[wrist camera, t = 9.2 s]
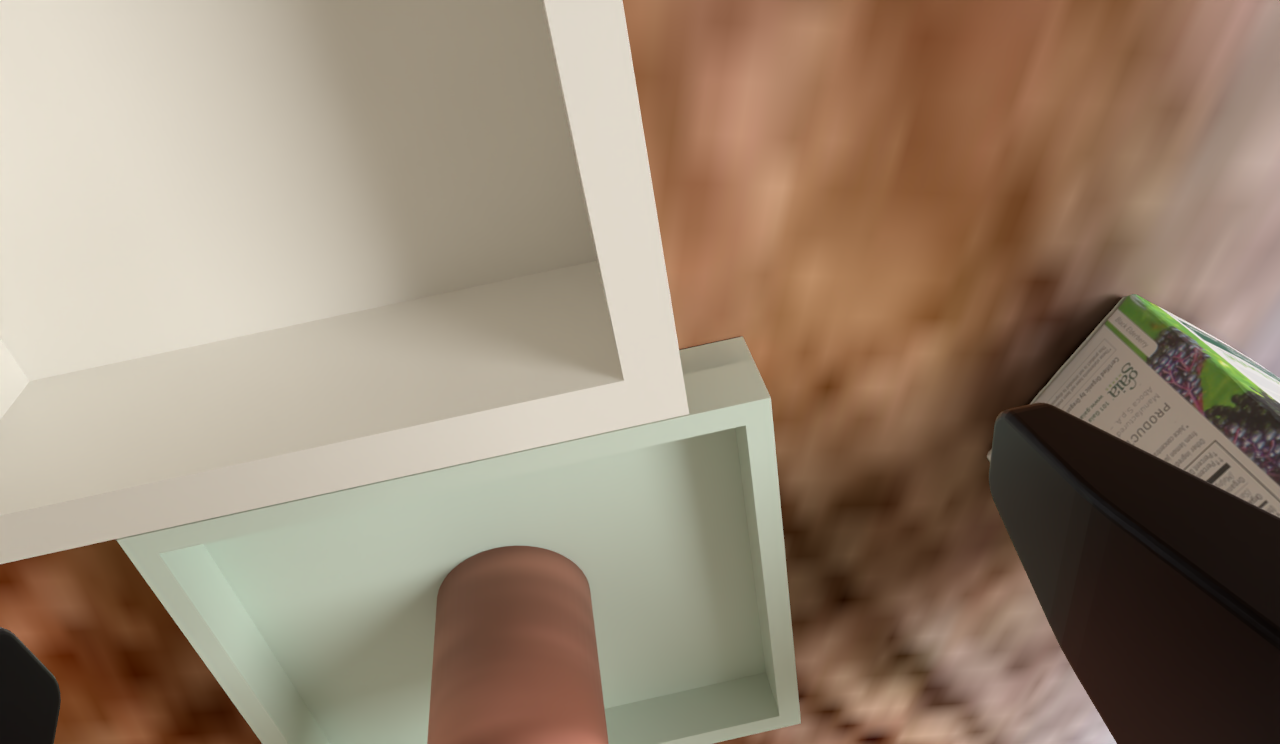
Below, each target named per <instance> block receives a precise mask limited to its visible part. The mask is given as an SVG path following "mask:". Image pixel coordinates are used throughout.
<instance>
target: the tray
mask: <svg viewBox="0 0 1280 744" xmlns="http://www.w3.org/2000/svg"><path fill="white" fill-rule="evenodd" d="M679 353H680V359H681V366H682V372H683V378H684V384H685V390H686V396H687V403H688V409H689V414H687V415H683V416H678V417H673V418H669V419H664V420H660V421H655V422H651V423H646V424H641V425H637V426H632V427H628V428H623V429H618V430H614V431H609V432H605V433H600V434H596V435H591V436H586V437H582V438H577V439H573V440H568V441H563V442H559V443H554V444H550V445H545V446H540V447H536V448H531V449H527V450H522V451H518V452H513V453H508V454H504V455H499V456H495V457H490V458H485V459H481V460H476V461H472V462H467V463H462V464H458V465H453V466H449V467H444V468H440V469H435V470H430V471H426V472H421V473H417V474H412V475H407V476H403V477H398V478H394V479H389V480H385V481H380V482H375V483H371V484H366V485H362V486H357V487H352V488H348V489H343V490H339V491H334V492H329V493H325V494H320V495H316V496H311V497H307V498H302V499H297V500H293V501H288V502H284V503H279V504H274V505H270V506H265V507H261V508H256V509H251V510H247V511H242V512H238V513H233V514H229V515H224V516H219V517H215V518H210V519H206V520H201V521H196V522H192V523H187V524H183V525H178V526H174V527H169V528H164V529H160V530H155V531H151V532H146V533H141V534H137V535H132V536H128V537H123V538H118V539H117V542H118V543H119V544H120V546H121V547H122V549H123V550H124V551H125V553H126V554H127V556H128V557H129V558H130V560H131V561H132V563H133V564H134V565H135V567H136V568H137V570H138V571H139V572H140V574H141V575H142V577H143V578H144V579H145V581H146V582H147V584H148V585H149V586H150V588H151V589H152V591H153V592H154V593H155V595H156V596H157V597H158V599H159V600H160V602H161V603H162V604H163V606H164V607H165V609H166V610H167V611H168V613H169V614H170V616H171V617H172V618H173V620H174V621H175V623H176V624H177V625H178V627H179V628H180V630H181V631H182V632H183V634H184V635H185V637H186V638H187V639H188V641H189V642H190V644H191V645H192V646H193V648H194V649H195V651H196V652H197V653H198V655H199V656H200V657H201V659H202V660H203V662H204V663H205V664H206V666H207V667H208V669H209V670H210V671H211V673H212V674H213V676H214V677H215V678H216V680H217V681H218V683H219V684H220V685H221V687H222V688H223V690H224V691H225V692H226V694H227V695H228V697H229V698H230V699H231V701H232V702H233V704H234V705H235V706H236V708H237V709H238V711H239V712H240V713H241V715H242V716H243V718H244V719H245V720H246V722H247V723H248V724H249V726H250V727H251V729H252V730H253V731H254V733H255V734H256V736H257V737H258V738H259V740H260V741H261V743H262V744H427V740H428V725H429V710H430V695H431V680H432V666H433V651H434V636H435V621H436V606H437V595H438V591H439V588H440V586H441V584H442V582H443V581H444V579H445V578H446V576H447V575H448V574H449V573H450V572H451V571H452V570H453V569H454V568H455V567H456V566H457V565H458V564H460V563H461V562H463V561H464V560H466V559H468V558H470V557H472V556H474V555H476V554H478V553H481V552H484V551H487V550H491V549H494V548H500V547H505V546H532V547H539V548H544V549H548V550H551V551H554V552H556V553H559V554H561V555H563V556H565V557H566V558H568V559H570V560H571V561H572V562H574V563H575V564H576V565H577V566H578V567H579V568H580V569H581V570H582V571H583V573H584V575H585V576H586V578H587V580H588V583H589V587H590V593H591V601H592V610H593V618H594V626H595V635H596V643H597V651H598V660H599V668H600V676H601V685H602V693H603V701H604V709H605V718H606V726H607V734H608V743H609V744H713V743H717V742H722V741H726V740H731V739H735V738H739V737H744V736H748V735H752V734H757V733H761V732H766V731H770V730H774V729H779V728H783V727H787V726H792V725H796V724H800V723H801V718H800V708H799V697H798V686H797V675H796V664H795V654H794V643H793V632H792V621H791V610H790V600H789V589H788V578H787V567H786V556H785V546H784V535H783V524H782V513H781V503H780V492H779V481H778V470H777V459H776V449H775V438H774V427H773V416H772V405H771V397H770V395H769V393H768V390H767V388H766V386H765V384H764V382H763V380H762V377H761V375H760V373H759V371H758V369H757V367H756V364H755V362H754V360H753V358H752V356H751V353H750V351H749V349H748V347H747V345H746V343H745V340H744V338H743V336H742V337H738V338H733V339H729V340H724V341H719V342H715V343H710V344H705V345H701V346H696V347H691V348H687V349H682V350H679Z"/></svg>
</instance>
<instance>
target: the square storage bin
mask: <svg viewBox="0 0 1280 744" xmlns="http://www.w3.org/2000/svg"><path fill="white" fill-rule="evenodd" d="M687 414H689V409H688V403H687V396H686V390H685V384H684V378H683V372H682V366H681V359H680V353H679V347H678V341H677V335H676V329H675V322H674V316H673V310H672V304H671V298H670V291H669V285H668V279H667V273H666V267H665V261H664V254H663V248H662V242H661V236H660V230H659V224H658V217H657V211H656V205H655V199H654V193H653V187H652V180H651V174H650V168H649V162H648V156H647V150H646V143H645V137H644V131H643V125H642V119H641V112H640V106H639V100H638V94H637V88H636V82H635V75H634V69H633V63H632V57H631V51H630V45H629V38H628V32H627V26H626V20H625V14H624V8H623V1H622V0H0V564H4V563H8V562H13V561H18V560H22V559H27V558H31V557H36V556H40V555H45V554H50V553H54V552H59V551H63V550H68V549H73V548H77V547H82V546H86V545H91V544H96V543H100V542H105V541H109V540H114V539H118V538H123V537H128V536H132V535H137V534H141V533H146V532H151V531H155V530H160V529H164V528H169V527H174V526H178V525H183V524H187V523H192V522H196V521H201V520H206V519H210V518H215V517H219V516H224V515H229V514H233V513H238V512H242V511H247V510H251V509H256V508H261V507H265V506H270V505H274V504H279V503H284V502H288V501H293V500H297V499H302V498H307V497H311V496H316V495H320V494H325V493H329V492H334V491H339V490H343V489H348V488H352V487H357V486H362V485H366V484H371V483H375V482H380V481H385V480H389V479H394V478H398V477H403V476H407V475H412V474H417V473H421V472H426V471H430V470H435V469H440V468H444V467H449V466H453V465H458V464H462V463H467V462H472V461H476V460H481V459H485V458H490V457H495V456H499V455H504V454H508V453H513V452H518V451H522V450H527V449H531V448H536V447H540V446H545V445H550V444H554V443H559V442H563V441H568V440H573V439H577V438H582V437H586V436H591V435H596V434H600V433H605V432H609V431H614V430H618V429H623V428H628V427H632V426H637V425H641V424H646V423H651V422H655V421H660V420H664V419H669V418H673V417H678V416H683V415H687Z"/></svg>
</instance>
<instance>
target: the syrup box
mask: <svg viewBox="0 0 1280 744" xmlns="http://www.w3.org/2000/svg"><path fill="white" fill-rule="evenodd" d="M1034 403H1048V404H1051V405H1053V406H1055V407H1058V408H1060V409H1062V410H1064V411H1066V412H1068V413H1070V414H1072V415H1074V416H1076V417H1078V418H1080V419H1082V420H1084V421H1086V422H1088V423H1090V424H1092V425H1094V426H1096V427H1098V428H1100V429H1102V430H1104V431H1106V432H1108V433H1110V434H1112V435H1114V436H1116V437H1118V438H1120V439H1122V440H1124V441H1126V442H1128V443H1130V444H1132V445H1134V446H1136V447H1138V448H1140V449H1142V450H1144V451H1146V452H1148V453H1150V454H1152V455H1154V456H1156V457H1158V458H1160V459H1162V460H1165V461H1167V462H1169V463H1171V464H1173V465H1175V466H1177V467H1179V468H1181V469H1183V470H1185V471H1187V472H1189V473H1191V474H1193V475H1195V476H1197V477H1199V478H1201V479H1203V480H1205V481H1207V482H1209V483H1211V484H1213V485H1215V486H1217V487H1219V488H1221V489H1223V490H1225V491H1227V492H1229V493H1231V494H1233V495H1235V496H1237V497H1239V498H1241V499H1243V500H1245V501H1247V502H1249V503H1251V504H1253V505H1255V506H1257V507H1259V508H1261V509H1263V510H1265V511H1267V512H1269V513H1272V514H1274V515H1276V516H1278V517H1280V379H1279V378H1278V377H1277V376H1275V375H1274V374H1273V373H1271V372H1270V371H1268V370H1267V369H1266V368H1264V367H1262V366H1261V365H1259V364H1258V363H1256V362H1255V361H1253V360H1252V359H1250V358H1249V357H1247V356H1245V355H1244V354H1242V353H1241V352H1239V351H1237V350H1236V349H1234V348H1232V347H1231V346H1229V345H1228V344H1226V343H1224V342H1223V341H1221V340H1219V339H1217V338H1216V337H1214V336H1212V335H1210V334H1208V333H1206V332H1205V331H1203V330H1201V329H1199V328H1198V327H1196V326H1194V325H1192V324H1190V323H1188V322H1187V321H1185V320H1183V319H1181V318H1179V317H1177V316H1175V315H1173V314H1172V313H1170V312H1168V311H1166V310H1164V309H1162V308H1161V307H1159V306H1156V305H1154V304H1152V303H1150V302H1149V301H1147V300H1145V299H1143V298H1142V297H1140V296H1138V295H1136V294H1131V295H1129V296H1124V297H1123V298H1122V299H1121V300H1120V301H1119V302H1118V303H1117V304H1116V306H1115V307H1114V308H1113V309H1112V310H1111V311H1110V312H1109V314H1108V315H1107V316H1106V317H1105V318H1104V319H1103V320H1102V321H1101V322H1100V324H1099V325H1098V326H1097V327H1096V328H1095V329H1094V330H1093V332H1092V333H1091V334H1090V335H1089V336H1088V337H1087V339H1086V340H1085V341H1084V342H1083V343H1082V344H1081V345H1080V346H1079V348H1078V349H1077V350H1076V351H1075V352H1074V353H1073V354H1072V356H1071V357H1070V358H1069V359H1068V360H1067V361H1066V362H1065V363H1064V365H1063V366H1062V367H1061V368H1060V369H1059V370H1058V371H1057V373H1056V374H1055V375H1054V376H1053V377H1052V379H1051V380H1050V381H1049V382H1048V383H1047V385H1046V386H1045V387H1044V388H1043V389H1042V390H1041V391H1040V392H1039V393H1038V395H1037V396H1036V397H1035V398H1034V399H1033V401H1032V402H1031V403H1030V404H1034ZM991 451H992V449H991V450H990V451H989V452H988V454H987V459H988V461H989V462H990V460H991Z"/></svg>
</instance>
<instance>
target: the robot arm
mask: <svg viewBox="0 0 1280 744" xmlns="http://www.w3.org/2000/svg"><path fill="white" fill-rule="evenodd" d="M989 485H990V490H991V494H992V497H993V500H994V502H995V505H996V507H997V509H998V511H999V514H1000V516H1001V518H1002V520H1003V522H1004V525H1005V527H1006V529H1007V531H1008V534H1009V536H1010V538H1011V540H1012V542H1013V545H1014V547H1015V549H1016V551H1017V553H1018V556H1019V558H1020V560H1021V562H1022V564H1023V567H1024V569H1025V571H1026V573H1027V576H1028V578H1029V580H1030V582H1031V584H1032V587H1033V589H1034V591H1035V593H1036V595H1037V598H1038V600H1039V602H1040V604H1041V606H1042V609H1043V611H1044V613H1045V615H1046V617H1047V620H1048V622H1049V624H1050V626H1051V628H1052V630H1053V632H1054V634H1055V636H1056V639H1057V641H1058V643H1059V645H1060V647H1061V649H1062V650H1063V652H1064V654H1065V656H1066V658H1067V659H1068V661H1069V663H1070V665H1071V667H1072V668H1073V670H1074V672H1075V674H1076V675H1077V677H1078V679H1079V680H1080V682H1081V684H1082V685H1083V687H1084V689H1085V690H1086V692H1087V694H1088V695H1089V697H1090V699H1091V700H1092V702H1093V704H1094V706H1095V707H1096V709H1097V711H1098V712H1099V714H1100V716H1101V717H1102V719H1103V721H1104V722H1105V724H1106V726H1107V727H1108V729H1109V731H1110V732H1111V734H1112V736H1113V737H1114V739H1115V741H1116V743H1117V744H1280V517H1278V516H1276V515H1274V514H1272V513H1269V512H1267V511H1265V510H1263V509H1261V508H1259V507H1257V506H1255V505H1253V504H1251V503H1249V502H1247V501H1245V500H1243V499H1241V498H1239V497H1237V496H1235V495H1233V494H1231V493H1229V492H1227V491H1225V490H1223V489H1221V488H1219V487H1217V486H1215V485H1213V484H1211V483H1209V482H1207V481H1205V480H1203V479H1201V478H1199V477H1197V476H1195V475H1193V474H1191V473H1189V472H1187V471H1185V470H1183V469H1181V468H1179V467H1177V466H1175V465H1173V464H1171V463H1169V462H1167V461H1165V460H1162V459H1160V458H1158V457H1156V456H1154V455H1152V454H1150V453H1148V452H1146V451H1144V450H1142V449H1140V448H1138V447H1136V446H1134V445H1132V444H1130V443H1128V442H1126V441H1124V440H1122V439H1120V438H1118V437H1116V436H1114V435H1112V434H1110V433H1108V432H1106V431H1104V430H1102V429H1100V428H1098V427H1096V426H1094V425H1092V424H1090V423H1088V422H1086V421H1084V420H1082V419H1080V418H1078V417H1076V416H1074V415H1072V414H1070V413H1068V412H1066V411H1064V410H1062V409H1060V408H1058V407H1055V406H1053V405H1051V404H1048V403H1034V404H1029V405H1024V406H1020V407H1015V408H1010V409H1006V410H1004V411H1002V412H1001V413H1000V414H999V415H998V416H997V418H996V421H995V425H994V434H993V443H992V451H991V460H990V469H989ZM60 702H61V700H60V690H59V685H58V683H57V681H56V679H55V677H54V676H53V674H52V673H51V672H50V671H49V670H48V669H47V668H46V667H45V666H44V665H43V664H42V663H41V662H40V661H39V660H38V659H37V658H36V657H35V655H34V654H33V653H32V652H31V651H30V650H29V649H28V648H27V647H26V646H25V645H24V644H23V643H22V642H21V641H20V640H19V639H18V638H17V637H16V636H15V635H14V634H13V633H12V632H11V631H9V630H7V629H4V628H1V627H0V744H54V738H55V733H56V727H57V721H58V716H59V710H60Z"/></svg>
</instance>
